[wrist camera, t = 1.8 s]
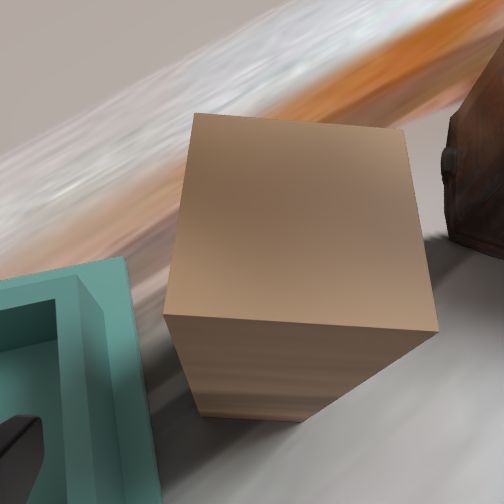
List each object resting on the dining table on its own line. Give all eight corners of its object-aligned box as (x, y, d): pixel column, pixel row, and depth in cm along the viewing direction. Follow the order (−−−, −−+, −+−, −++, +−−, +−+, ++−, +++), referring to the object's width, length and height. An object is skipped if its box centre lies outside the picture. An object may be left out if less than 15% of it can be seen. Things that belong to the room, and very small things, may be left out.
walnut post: (302, 422, 18) (440, 331, 7) (200, 416, 18) (163, 313, 7) (301, 323, 20) (403, 129, 9) (210, 318, 20) (194, 112, 9)
